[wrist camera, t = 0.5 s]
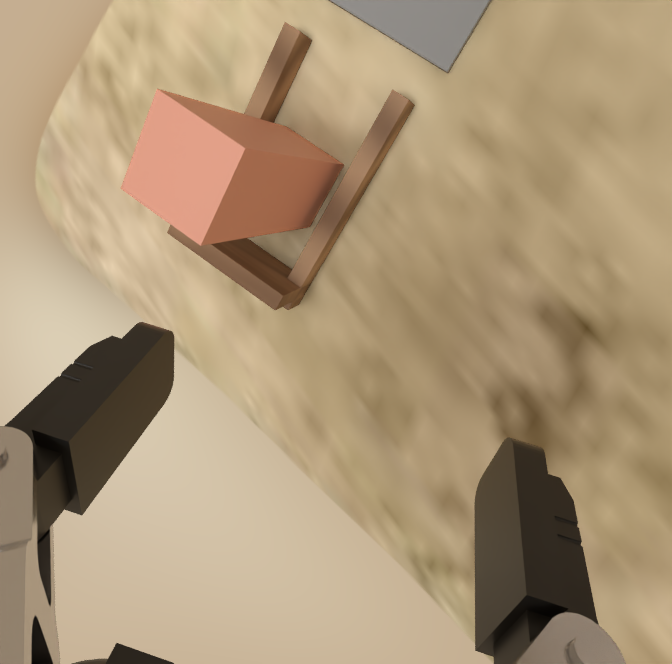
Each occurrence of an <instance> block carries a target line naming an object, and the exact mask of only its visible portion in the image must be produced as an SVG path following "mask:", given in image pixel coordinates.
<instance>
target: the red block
mask: <svg viewBox="0 0 672 664" xmlns="http://www.w3.org/2000/svg"><path fill="white" fill-rule="evenodd" d="M343 166H344V164H342V163H341V162H339V161H338V160H336V159H335V158H333V157H332V156H330V155H329V154H327V153H326V152H324V151H323V150H321V149H320V148H318V147H316V146H315V145H313V144H312V143H310V142H309V141H307V140H306V139H304V138H303V137H301V136H300V135H298V134H297V133H295V132H294V131H292V130H291V129H289V128H288V127H286V126H283V125H279V124H276V123H272V122H269V121H265V120H262V119H259V118H255V117H252V116H248V115H245V114H242V113H238V112H235V111H231V110H228V109H225V108H221V107H218V106H214V105H211V104H207V103H204V102H201V101H197V100H194V99H190V98H187V97H184V96H180V95H177V94H173V93H170V92H167V91H163V90H160V89H157V91H156V93H155V96H154V99H153V102H152V104H151V107H150V110H149V113H148V115H147V118H146V121H145V123H144V126H143V129H142V132H141V134H140V137H139V140H138V143H137V145H136V148H135V151H134V153H133V156H132V159H131V162H130V164H129V167H128V170H127V173H126V175H125V178H124V181H123V183H122V186H121V189H122V190H123V191H125V192H126V193H128V194H129V195H130V196H132V197H133V198H135V199H136V200H137V201H139V202H140V203H142V204H143V205H144V206H146V207H147V208H149V209H150V210H151V211H153V212H154V213H156V214H157V215H158V216H160V217H161V218H163V219H164V220H165V221H167V222H168V223H170V224H171V225H172V226H174V227H175V228H177V229H178V230H179V231H181V232H182V233H184V234H185V235H186V236H188V237H189V238H190V239H192V240H193V241H195V242H196V243H197V244H199V245H200V246H202V245H208V244H214V243H220V242H225V241H231V240H237V239H243V238H249V237H255V236H260V235H266V234H272V233H278V232H284V231H290V230H295V229H301V228H307V227H310V226H311V224H312V222H313V220H314V218H315V217H316V215H317V213H318V211H319V209H320V208H321V206H322V204H323V202H324V200H325V198H326V197H327V195H328V193H329V191H330V189H331V188H332V186H333V184H334V182H335V180H336V179H337V177H338V175H339V173H340V171H341V169H342V168H343Z"/></svg>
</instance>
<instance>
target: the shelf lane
mask: <svg viewBox="0 0 672 664" xmlns="http://www.w3.org/2000/svg"><path fill="white" fill-rule="evenodd" d="M311 42H312V40H311V39H309V38H308V37H307V36H305V35H304V34H303V33H302V32H300V31H299V30H297V29H295V28H294V27H292V26H291V25H289V24H287V23H286V22H285V23H284V25H283V28H282V30H281V32H280V34H279V37H278V39H277V41H276V43H275V46H274V48H273V50H272V52H271V55H270V57H269V59H268V61H267V64H266V66H265V68H264V70H263V73H262V75H261V77H260V79H259V82H258V84H257V86H256V88H255V91H254V93H253V95H252V97H251V100H250V102H249V104H248V106H247V108H246V111H245V113H244V114H245V115H248V116H252V117H255V118H259V119H262V120H265V121H269V122H272V123H273V122H274V120H275V118H276V116H277V114H278V111H279V109H280V107H281V105H282V103H283V101H284V99H285V97H286V94H287V92H288V90H289V88H290V86H291V84H292V82H293V80H294V78H295V75H296V73H297V71H298V69H299V67H300V65H301V63H302V61H303V59H304V56H305V54H306V52H307V50H308V48H309V46H310V44H311ZM414 106H415V105H414V104H413V103H412V102H411V101H410V100H408V99H407V98H405V97H404V96H402V95H401V94H399V93H397V92H396V91H394V90H392V92H391V93H390V95H389V97H388V99H387V100H386V102H385V104H384V106H383V108H382V109H381V111H380V113H379V115H378V117H377V118H376V120H375V122H374V124H373V126H372V127H371V129H370V131H369V133H368V135H367V136H366V138H365V140H364V142H363V144H362V145H361V147H360V149H359V151H358V153H357V154H356V156H355V158H354V160H353V162H352V163H351V165H350V167H349V169H348V171H347V172H346V174H345V176H344V178H343V179H342V181H341V183H340V185H339V187H338V188H337V190H336V192H335V194H334V196H333V197H332V199H331V201H330V203H329V205H328V206H327V208H326V210H325V212H324V214H323V215H322V217H321V219H320V221H319V223H318V224H317V226H316V228H315V230H314V232H313V233H312V235H311V237H310V239H309V241H308V242H307V244H306V246H305V248H304V250H303V251H302V253H301V255H300V257H299V258H298V260H297V262H296V264H295V266H294V267H293V269H292V270H291V269H290V268H289V267H287V266H286V265H284V264H283V263H281V262H280V261H279V260H277V259H276V258H274V257H273V256H271V255H270V254H269V253H267V252H266V251H264V250H263V249H262V248H260V247H259V246H257V245H256V244H254V243H253V242H252V241H250V240H249V239H247V238H243V239H237V240H231V241H225V242H220V243H214V244H208V245H202V246H200V245H199V244H197V243H196V242H195V241H193V240H192V239H190V238H189V237H188V236H186V235H185V234H184V233H182V232H181V231H179V230H178V229H177V228H175V227H174V226H172V225H170V227H169V230H168V232H167V233H168V234H170V235H171V236H172V237H174V238H175V239H177V240H178V241H179V242H181V243H182V244H183V245H185V246H186V247H188V248H189V249H190V250H192V251H193V252H195V253H196V254H197V255H199V256H200V257H202V258H203V259H204V260H206V261H207V262H209V263H210V264H211V265H213V266H214V267H215V268H217V269H218V270H220V271H221V272H222V273H224V274H225V275H227V276H228V277H229V278H231V279H232V280H234V281H235V282H236V283H238V284H239V285H241V286H242V287H243V288H245V289H246V290H247V291H249V292H250V293H252V294H253V295H254V296H256V297H257V298H259V299H260V300H261V301H263V302H264V303H266V304H267V305H268V306H270V307H271V308H272V309H274V310H277V309H279V308H281V307H284V308H286V309H287V310H289V309H291V308H293V307H295V306H297V305H299V303H300V301H301V300H302V298H303V296H304V295H305V293H306V291H307V289H308V288H309V286H310V284H311V282H312V281H313V279H314V277H315V276H316V274H317V272H318V270H319V269H320V267H321V265H322V264H323V262H324V260H325V258H326V257H327V255H328V253H329V252H330V250H331V248H332V246H333V245H334V243H335V241H336V240H337V238H338V236H339V234H340V233H341V231H342V229H343V228H344V226H345V224H346V222H347V221H348V219H349V217H350V216H351V214H352V212H353V210H354V209H355V207H356V205H357V203H358V202H359V200H360V198H361V197H362V195H363V193H364V191H365V190H366V188H367V186H368V185H369V183H370V181H371V179H372V178H373V176H374V174H375V173H376V171H377V169H378V167H379V166H380V164H381V162H382V161H383V159H384V157H385V155H386V154H387V152H388V150H389V149H390V147H391V145H392V143H393V142H394V140H395V138H396V137H397V135H398V133H399V131H400V130H401V128H402V126H403V124H404V123H405V121H406V119H407V118H408V116H409V114H410V112H411V111H412V109H413V107H414Z"/></svg>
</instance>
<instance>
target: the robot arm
mask: <svg viewBox="0 0 672 664" xmlns="http://www.w3.org/2000/svg"><path fill="white" fill-rule="evenodd" d="M173 381H174V334H173V332H172V331H169V330H166V329H163V328H160V327H156V326H153V325H150V324H147V323H144V322H140V323H138V324H136V325H135V326H134V327H133V328H132V329H131V330H130V331H129V332H128V333H127V334H126V335H125V336H124V337H123V338H122V339H121V338H117V337H114V336H111V337H109V338H106V339H104V340H102V341H100V342H98V343H96V344H94V345H91V346H90V347H89V348H88V349H87V350H85V351H84V352H83V353H82V354H81V355H80V356H79V357H78V358H77V359H76V360H75V361H74V364H71V365H69V366H68V367H67V368H66V370H64V371H63V372H62V374H61V376H60V377H57V378H56V379H55V380H54V381H52V382H51V383H50V384H49V385H48V386H47V387H46V388H45V389H44V390H43V391H42V392H41V393H40V394H39V395H38V396H37V397H35V398H34V399H33V401H31V402H30V403H29V404H28V405H27V406H26V407H25V408H24V409H23V410H22V411H21V412H19V413H18V414H17V415H16V416H15V418H13V419H12V420H11V421H10V422H9V423H7V424H6V425H5V426H0V664H60V653H59V642H58V633H57V626H56V616H55V587H54V547H53V546H54V545H53V525H52V524H53V523H54V522H55V520H56V519H57V518H58V517H59V515H60V514H61V513H62V512H63V510H64V509H65V510H68V511H71V512H74V513H77V514H80V515H83V513H84V512H85V511H86V509H87V508H88V507H89V505H90V504H91V502H92V501H93V500H94V498H95V497H96V495H97V494H98V493H99V492H100V490H101V489H102V488H103V486H104V485H105V484H106V482H107V481H108V479H109V478H110V477H111V475H112V474H113V473H114V471H115V470H116V468H117V467H118V466H119V465H120V463H121V462H122V461H123V459H124V458H125V456H126V455H127V454H128V452H129V451H130V449H131V448H132V447H133V446H134V444H135V443H136V442H137V440H138V439H139V437H140V436H141V435H142V433H143V432H144V430H145V429H146V428H147V426H148V425H149V424H150V422H151V421H152V420H153V418H154V417H155V416H156V414H157V413H158V411H159V410H160V409H161V408H162V406H163V405H164V403H165V402H166V400H167V398H168V396H169V394H170V392H171V389H172V386H173ZM577 524H578V521H577V516H576V511H575V506H574V501H573V499H572V497H571V496H570V494H569V492H568V490H567V489H566V487H565V485H564V484H563V482H562V480H561V478H559V477H555V476H552V475H549V474H548V471H547V465H546V458H545V453H544V450H543V449H542V448H541V447H538V446H535V445H532V444H528V443H525V442H522V441H519V440H516V439H512V438H507V439H505V440H504V442H503V443H502V445H501V446H500V448H499V450H498V451H497V453H496V454H495V456H494V458H493V459H492V461H491V463H490V464H489V466H488V467H487V469H486V471H485V472H484V474H483V476H482V477H481V479H480V482H479V484H478V487H477V491H476V496H475V650H476V651H478V652H481V653H484V654H487V655H490V656H493V657H494V664H626V663H625V660H624V658H623V656H622V653H621V651H620V650H619V648H618V647H617V645H616V643H615V642H614V641H613V639H612V638H611V637H610V636H609V635H608V634H607V633H606V631H605V630H604V629H602V628H601V627H600V626H599V624H598V621H597V617H596V612H595V607H594V602H593V597H592V592H591V587H590V582H589V577H588V572H587V567H586V562H585V557H584V552H583V547H582V546H581V542H582V541H581V536H580V531H579V528H578V527H577ZM72 664H174V663H172V662H169V661H167V660H164V659H161V658H158V657H155V656H152V655H150V654H147V653H144V652H141V651H138V650H135V649H132V648H130V647H127V646H124V645H121V644H118V643H117V644H116V645H115V647H114V649H113V651H112V653H111V655H110V656H109V658H108V659H94V660H85V661H81V662H76V663H72Z"/></svg>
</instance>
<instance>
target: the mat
mask: <svg viewBox="0 0 672 664" xmlns="http://www.w3.org/2000/svg"><path fill="white" fill-rule="evenodd" d="M329 1H331V2H332V3H334V4H336V5H337V6H339V7H341V8H342V9H344V10H346V11H347V12H349V13H350V14H352V15H354V16H355V17H357V18H359V19H360V20H362V21H364V22H365V23H367V24H368V25H370V26H372V27H373V28H375V29H377V30H378V31H380V32H381V33H383V34H385V35H386V36H388V37H390V38H391V39H393V40H395V41H396V42H398V43H399V44H401V45H403V46H404V47H406V48H408V49H409V50H411V51H412V52H414V53H416V54H417V55H419V56H421V57H422V58H424V59H426V60H427V61H429V62H430V63H432V64H434V65H435V66H437V67H439V68H440V69H442V70H443V71H445V72H447V73H448V72H449V71H450V69H451V67H452V66H453V64H454V62H455V61H456V59H457V57H458V55H459V54H460V52H461V50H462V49H463V47H464V45H465V44H466V42H467V40H468V39H469V37H470V35H471V34H472V32H473V30H474V29H475V27H476V25H477V23H478V22H479V20H480V18H481V17H482V15H483V13H484V12H485V10H486V8H487V7H488V5H489V3H490V2H491V0H329Z"/></svg>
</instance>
